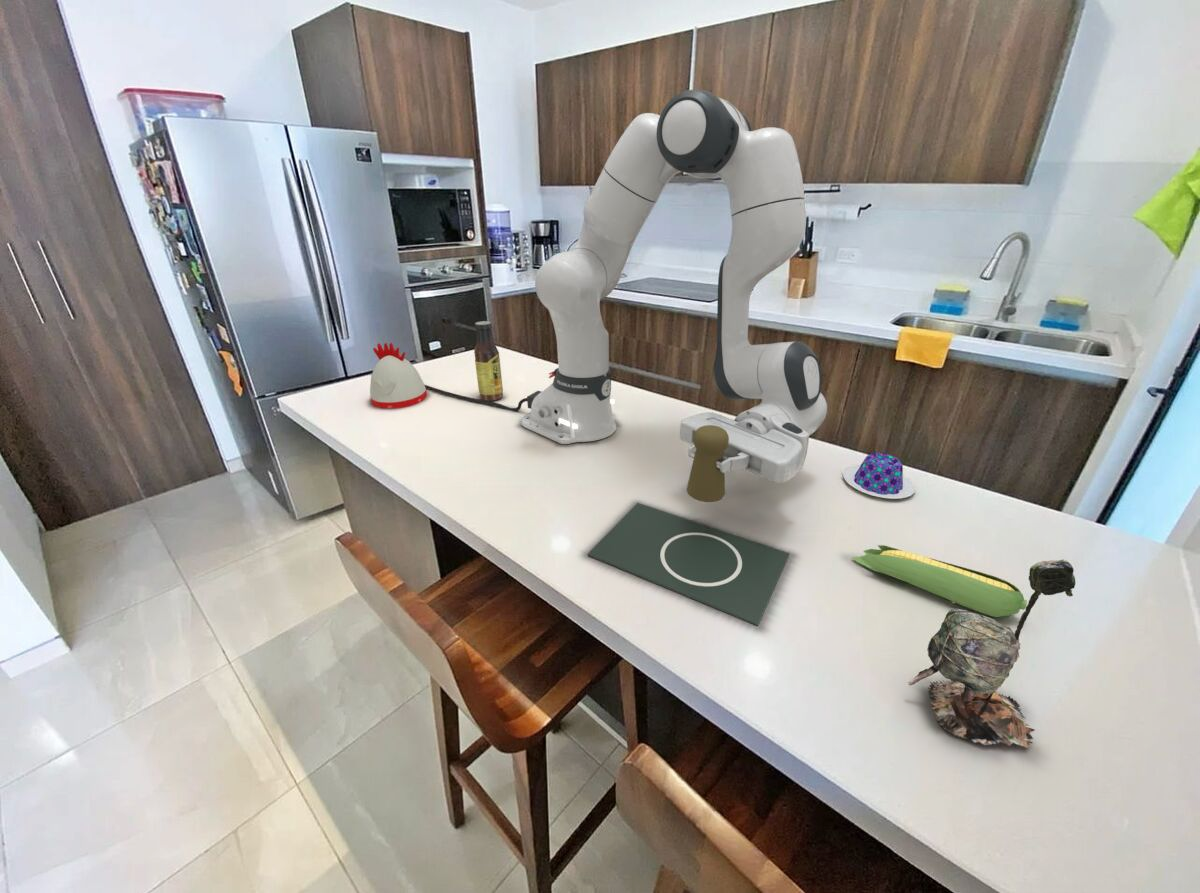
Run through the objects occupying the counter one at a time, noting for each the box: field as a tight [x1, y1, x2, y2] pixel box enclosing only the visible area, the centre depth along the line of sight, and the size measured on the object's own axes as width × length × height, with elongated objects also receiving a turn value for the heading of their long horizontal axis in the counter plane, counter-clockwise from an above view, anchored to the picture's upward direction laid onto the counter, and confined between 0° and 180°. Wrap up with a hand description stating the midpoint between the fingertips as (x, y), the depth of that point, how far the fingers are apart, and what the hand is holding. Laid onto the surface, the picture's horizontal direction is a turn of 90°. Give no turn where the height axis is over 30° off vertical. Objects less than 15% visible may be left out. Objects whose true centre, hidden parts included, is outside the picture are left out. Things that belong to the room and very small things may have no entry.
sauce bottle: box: [473, 320, 504, 402], centre depth 128 cm, size 7×6×20 cm
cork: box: [686, 425, 729, 503], centre depth 76 cm, size 6×6×11 cm
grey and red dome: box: [369, 342, 428, 409], centre depth 129 cm, size 14×14×15 cm
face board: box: [587, 502, 790, 627], centre depth 75 cm, size 26×16×1 cm, turn 58°
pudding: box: [842, 452, 916, 500], centre depth 91 cm, size 12×12×5 cm
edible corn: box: [851, 544, 1028, 618], centre depth 68 cm, size 5×20×5 cm, turn 54°
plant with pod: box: [907, 559, 1077, 749], centre depth 48 cm, size 8×11×20 cm
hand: (705, 460), depth 75 cm, fingers closed on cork, 4 cm apart
